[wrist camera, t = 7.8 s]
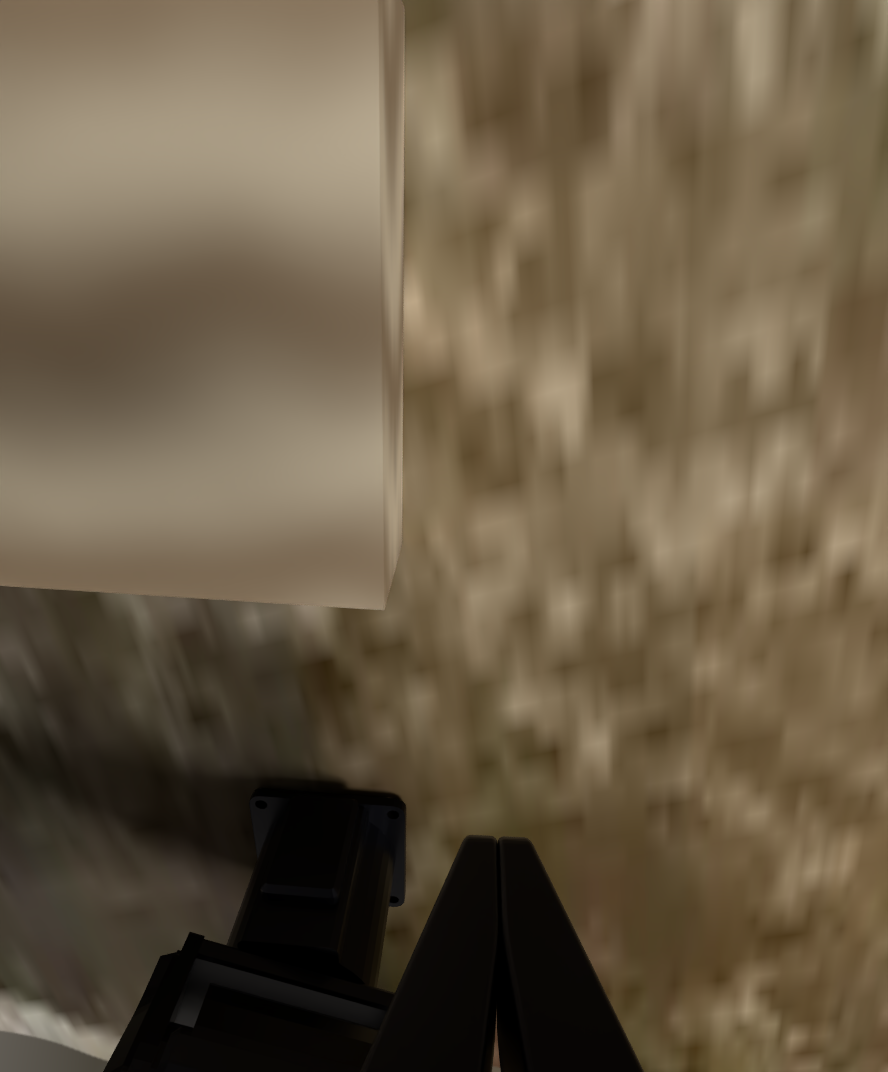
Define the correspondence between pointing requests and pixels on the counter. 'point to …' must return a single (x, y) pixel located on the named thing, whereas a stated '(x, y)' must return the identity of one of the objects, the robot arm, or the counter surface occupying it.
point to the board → (202, 298)
